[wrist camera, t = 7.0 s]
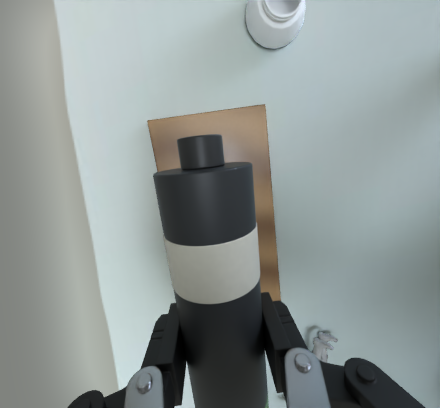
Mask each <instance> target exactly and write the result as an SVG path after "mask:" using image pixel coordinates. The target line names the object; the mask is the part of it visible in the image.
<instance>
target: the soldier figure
mask: <svg viewBox="0 0 440 408" xmlns="http://www.w3.org/2000/svg"><path fill="white" fill-rule="evenodd" d="M328 341H334V342H337V341H338V340H337V339H336V338H335V337H334V336H332V335H330V334H324V333H323V332H319V339H318V338H313V344H314V348H313V351H312V353H313V354H314V355H315V356H316V357H317V358H318V359H319V360H321V361H323V362H326V363H327V359H328V355H327V350H326V348H328V349H330V350H333V349H334V348H333V346H332V345H331V344H329V343H328Z"/></svg>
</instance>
